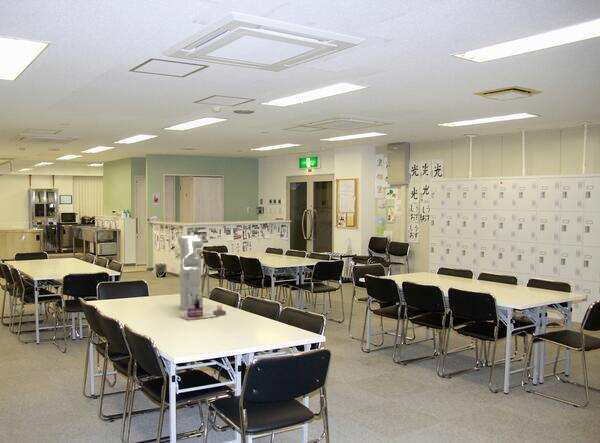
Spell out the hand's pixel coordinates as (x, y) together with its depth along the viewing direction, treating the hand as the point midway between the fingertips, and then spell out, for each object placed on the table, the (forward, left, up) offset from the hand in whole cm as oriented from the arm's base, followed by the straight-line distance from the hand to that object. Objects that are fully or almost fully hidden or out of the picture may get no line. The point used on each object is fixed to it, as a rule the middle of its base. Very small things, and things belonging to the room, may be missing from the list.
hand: (194, 307), depth 408 cm
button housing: (0, +20, -7) cm, 21 cm away
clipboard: (0, +4, -7) cm, 8 cm away
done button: (0, +20, -5) cm, 21 cm away
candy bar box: (0, 0, -7) cm, 7 cm away
